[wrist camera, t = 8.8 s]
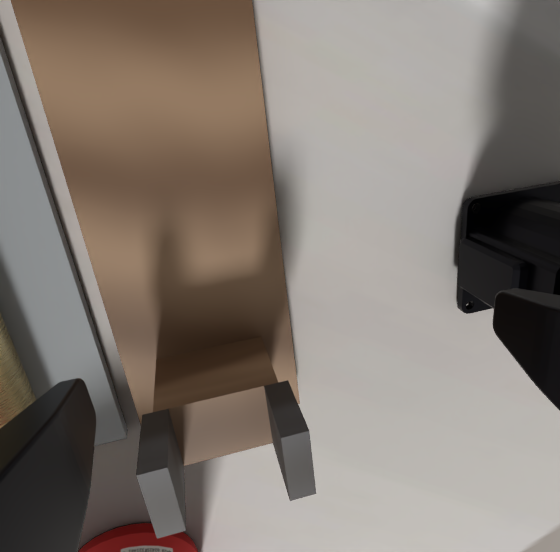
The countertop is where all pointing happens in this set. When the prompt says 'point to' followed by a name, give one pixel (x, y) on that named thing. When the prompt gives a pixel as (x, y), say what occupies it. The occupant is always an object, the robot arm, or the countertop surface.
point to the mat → (44, 275)
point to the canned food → (139, 541)
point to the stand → (177, 225)
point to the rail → (12, 380)
